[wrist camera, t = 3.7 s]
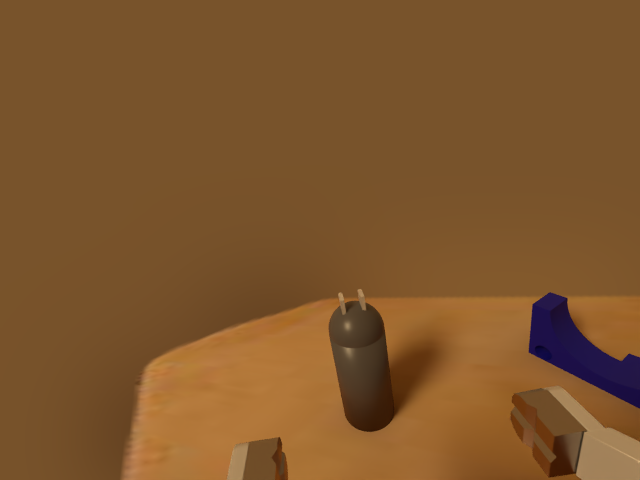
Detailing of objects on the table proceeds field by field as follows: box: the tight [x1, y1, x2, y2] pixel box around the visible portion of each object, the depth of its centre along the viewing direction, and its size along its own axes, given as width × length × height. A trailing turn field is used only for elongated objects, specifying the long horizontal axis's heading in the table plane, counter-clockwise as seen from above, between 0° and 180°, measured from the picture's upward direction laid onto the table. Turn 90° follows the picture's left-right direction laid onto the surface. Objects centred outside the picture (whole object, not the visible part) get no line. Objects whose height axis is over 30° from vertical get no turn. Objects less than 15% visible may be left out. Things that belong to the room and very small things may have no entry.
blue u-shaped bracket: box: [529, 293, 640, 408], centre depth 26 cm, size 12×4×6 cm, turn 30°
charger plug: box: [329, 289, 394, 432], centre depth 26 cm, size 5×5×12 cm
